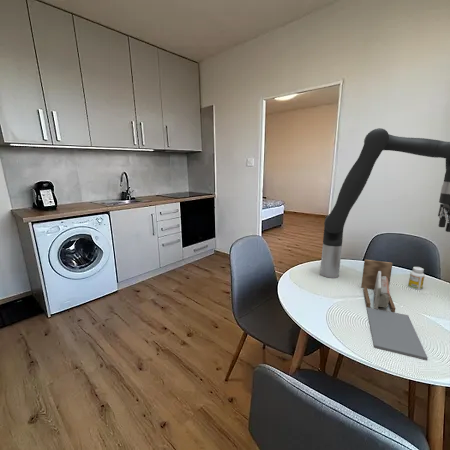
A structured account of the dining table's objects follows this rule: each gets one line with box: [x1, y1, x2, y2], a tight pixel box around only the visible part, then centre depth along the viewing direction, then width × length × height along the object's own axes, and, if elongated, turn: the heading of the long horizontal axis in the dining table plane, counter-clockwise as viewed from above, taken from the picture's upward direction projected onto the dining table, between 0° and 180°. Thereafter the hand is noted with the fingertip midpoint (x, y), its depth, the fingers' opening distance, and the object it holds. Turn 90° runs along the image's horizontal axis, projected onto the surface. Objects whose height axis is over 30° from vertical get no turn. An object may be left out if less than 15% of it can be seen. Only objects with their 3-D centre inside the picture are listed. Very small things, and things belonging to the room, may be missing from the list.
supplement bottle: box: [407, 266, 425, 291], centre depth 119 cm, size 5×5×10 cm
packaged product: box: [373, 271, 391, 310], centre depth 107 cm, size 18×5×10 cm, turn 149°
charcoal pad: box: [366, 307, 428, 361], centre depth 89 cm, size 14×24×1 cm, turn 156°
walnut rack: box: [360, 259, 397, 313], centre depth 109 cm, size 11×20×14 cm, turn 156°
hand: (445, 229), depth 111 cm, fingers open, 8 cm apart
